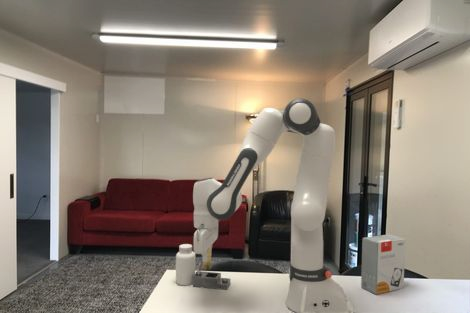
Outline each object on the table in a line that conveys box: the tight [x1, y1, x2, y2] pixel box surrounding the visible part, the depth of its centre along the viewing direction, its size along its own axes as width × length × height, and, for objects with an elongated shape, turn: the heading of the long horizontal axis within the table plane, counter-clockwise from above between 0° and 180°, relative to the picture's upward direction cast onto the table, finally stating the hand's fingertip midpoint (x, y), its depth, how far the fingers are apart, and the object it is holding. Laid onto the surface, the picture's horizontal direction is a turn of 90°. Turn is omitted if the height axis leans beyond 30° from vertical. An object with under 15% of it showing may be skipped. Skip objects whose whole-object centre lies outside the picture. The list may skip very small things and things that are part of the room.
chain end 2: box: [202, 277, 231, 291], centre depth 125 cm, size 10×6×3 cm, turn 79°
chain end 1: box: [192, 270, 222, 288], centre depth 126 cm, size 10×6×5 cm, turn 79°
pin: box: [202, 246, 212, 271], centre depth 116 cm, size 3×3×8 cm
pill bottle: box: [175, 243, 196, 286], centre depth 129 cm, size 8×8×15 cm
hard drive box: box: [360, 233, 406, 295], centre depth 123 cm, size 16×8×20 cm, turn 114°
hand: (207, 258), depth 116 cm, fingers closed on pin, 3 cm apart
